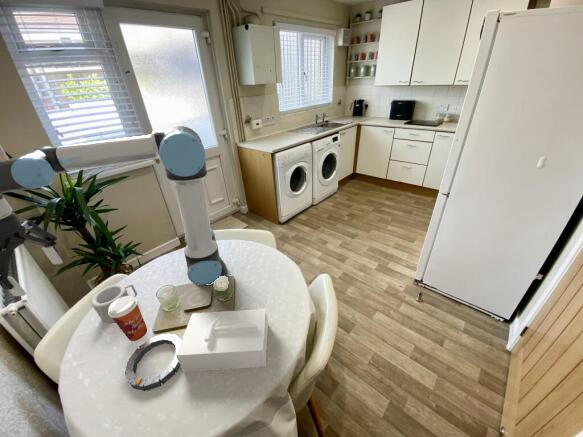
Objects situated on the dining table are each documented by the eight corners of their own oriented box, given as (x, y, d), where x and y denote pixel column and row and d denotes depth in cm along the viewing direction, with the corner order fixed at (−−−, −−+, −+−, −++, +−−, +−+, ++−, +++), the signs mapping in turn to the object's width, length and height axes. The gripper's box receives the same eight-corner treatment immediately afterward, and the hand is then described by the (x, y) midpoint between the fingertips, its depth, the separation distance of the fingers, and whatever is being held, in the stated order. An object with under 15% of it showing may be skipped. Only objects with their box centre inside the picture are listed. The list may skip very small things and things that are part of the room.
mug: (110, 329, 87) (98, 310, 82) (97, 317, 92) (85, 298, 87) (146, 303, 97) (137, 285, 92) (132, 293, 102) (123, 275, 97)
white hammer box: (198, 329, 86) (190, 308, 80) (268, 325, 86) (265, 304, 80) (183, 372, 73) (173, 350, 68) (265, 367, 73) (261, 345, 68)
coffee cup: (139, 346, 81) (121, 316, 73) (119, 342, 82) (99, 312, 75) (156, 324, 88) (141, 295, 81) (137, 321, 90) (121, 292, 82)
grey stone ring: (185, 332, 84) (183, 326, 83) (183, 377, 71) (180, 372, 70) (134, 348, 80) (131, 342, 79) (122, 399, 67) (118, 394, 65)
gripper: (22, 198, 73) (59, 253, 84) (-83, 246, 51) (-15, 313, 62) (47, 196, 73) (81, 251, 84) (-47, 243, 52) (15, 310, 62)
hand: (40, 277), depth 73 cm, fingers open, 13 cm apart
